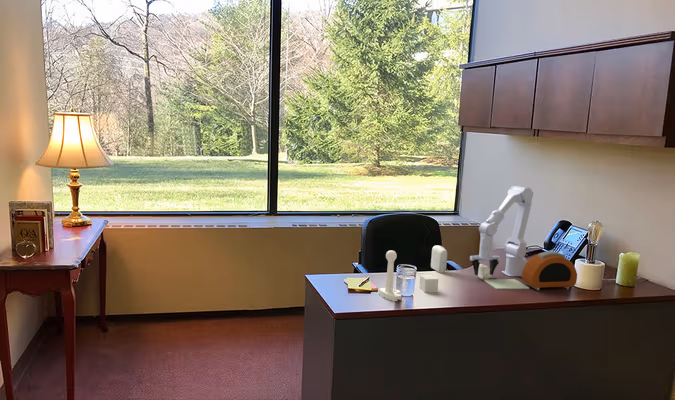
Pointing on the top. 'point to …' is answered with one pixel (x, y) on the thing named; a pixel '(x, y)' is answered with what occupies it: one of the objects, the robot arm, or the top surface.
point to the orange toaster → (549, 271)
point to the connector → (484, 272)
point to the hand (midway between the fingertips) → (483, 274)
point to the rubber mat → (505, 284)
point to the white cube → (428, 283)
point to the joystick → (390, 279)
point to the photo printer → (439, 259)
